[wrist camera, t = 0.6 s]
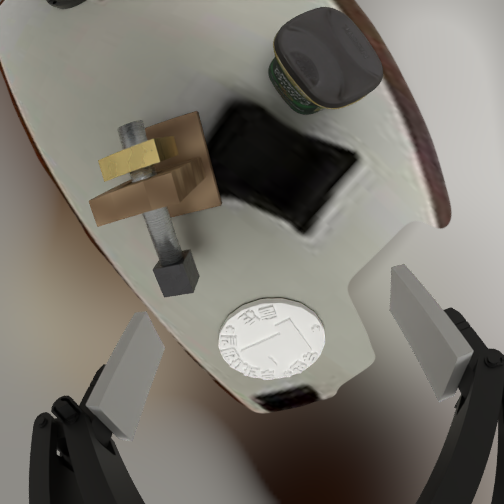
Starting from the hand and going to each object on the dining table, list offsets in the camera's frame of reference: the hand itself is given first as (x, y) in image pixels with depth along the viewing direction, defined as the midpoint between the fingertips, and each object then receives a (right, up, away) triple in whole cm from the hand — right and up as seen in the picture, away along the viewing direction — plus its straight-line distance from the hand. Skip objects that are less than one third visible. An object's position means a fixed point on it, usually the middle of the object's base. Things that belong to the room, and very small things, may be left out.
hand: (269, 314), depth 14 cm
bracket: (-12, +14, +25) cm, 32 cm away
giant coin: (+3, -13, +38) cm, 41 cm away
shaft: (-12, +9, +19) cm, 24 cm away
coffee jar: (+6, +27, +19) cm, 33 cm away
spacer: (-14, +14, +15) cm, 25 cm away
